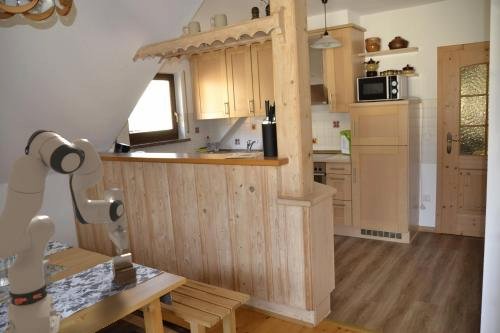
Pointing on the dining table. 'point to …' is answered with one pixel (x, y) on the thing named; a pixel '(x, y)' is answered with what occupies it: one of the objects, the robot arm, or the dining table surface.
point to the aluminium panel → (121, 260)
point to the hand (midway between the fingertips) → (119, 252)
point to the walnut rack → (125, 274)
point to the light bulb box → (47, 272)
